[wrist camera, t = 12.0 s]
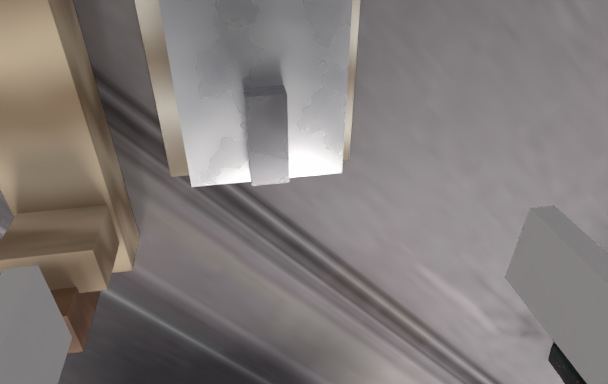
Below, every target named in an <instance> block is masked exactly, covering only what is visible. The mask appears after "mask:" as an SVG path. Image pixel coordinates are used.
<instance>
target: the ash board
mask: <svg viewBox="0 0 608 384" xmlns="http://www.w3.org/2000/svg"><path fill="white" fill-rule="evenodd" d="M134 1H135V6H136V10H137V15H138V20H139V25H140V30H141V35H142V39H143V44H144V49H145V54H146V59H147V64H148V68H149V73H150V78H151V83H152V88H153V92H154V97H155V102H156V107H157V112H158V117H159V121H160V126H161V131H162V136H163V141H164V146H165V150H166V155H167V160H168V165H169V170H170V174H171V177H176V176H187V175H189V170H188V164H187V159H186V153H185V148H184V142H183V136H182V131H181V125H180V119H179V114H178V108H177V103H176V97H175V91H174V86H173V80H172V75H171V69H170V63H169V58H168V52H167V46H166V41H165V35H164V30H163V24H162V18H161V13H160V7H159V2H158V0H134ZM359 13H360V0H352V15H351V32H350V49H349V65H348V82H347V98H346V115H345V131H344V148H343V161H349V155H350V141H351V127H352V113H353V99H354V84H355V70H356V56H357V42H358V27H359Z"/></svg>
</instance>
